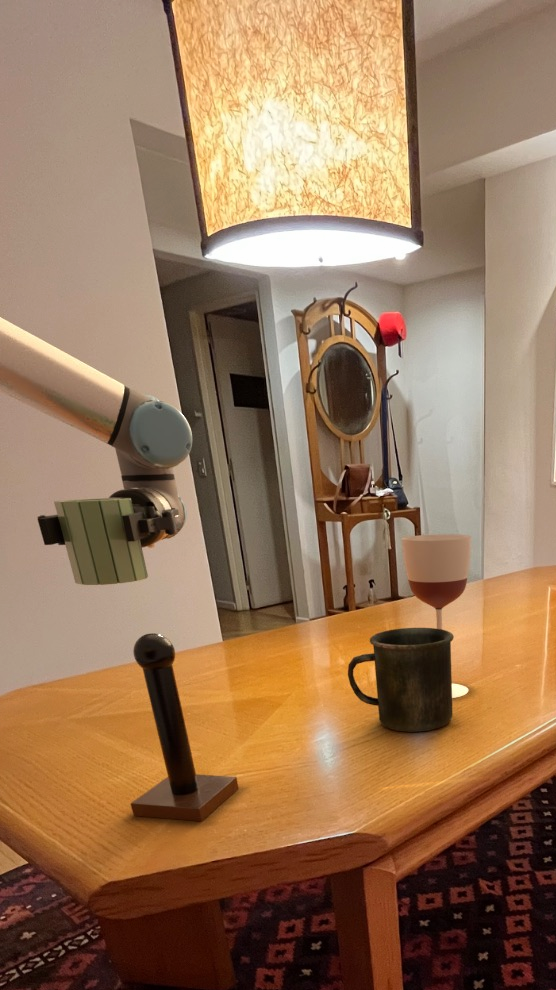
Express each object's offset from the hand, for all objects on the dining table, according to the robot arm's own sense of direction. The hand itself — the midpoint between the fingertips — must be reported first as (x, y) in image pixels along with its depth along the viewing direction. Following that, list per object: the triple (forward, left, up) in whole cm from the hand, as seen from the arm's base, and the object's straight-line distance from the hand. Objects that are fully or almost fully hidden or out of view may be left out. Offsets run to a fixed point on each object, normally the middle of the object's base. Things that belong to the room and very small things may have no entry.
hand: (86, 530), depth 76 cm
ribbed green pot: (-2, +4, -6) cm, 8 cm away
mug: (+31, +16, -27) cm, 44 cm away
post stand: (+14, -12, -27) cm, 33 cm away
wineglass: (+33, +31, -27) cm, 53 cm away
